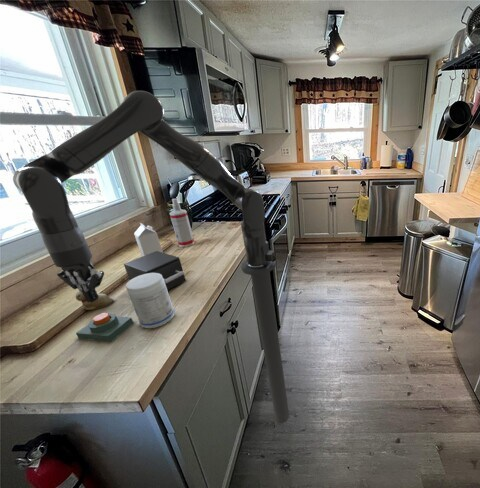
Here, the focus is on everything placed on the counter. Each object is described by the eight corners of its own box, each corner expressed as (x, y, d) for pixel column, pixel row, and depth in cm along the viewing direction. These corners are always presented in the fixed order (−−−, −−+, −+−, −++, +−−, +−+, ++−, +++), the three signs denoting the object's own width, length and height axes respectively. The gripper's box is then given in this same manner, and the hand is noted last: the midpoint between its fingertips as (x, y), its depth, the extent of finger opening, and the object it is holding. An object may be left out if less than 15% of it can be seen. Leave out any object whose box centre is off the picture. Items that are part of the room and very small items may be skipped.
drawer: (192, 282, 101) (187, 262, 98) (164, 298, 92) (157, 276, 89) (165, 273, 109) (159, 254, 106) (136, 286, 100) (129, 266, 96)
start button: (113, 317, 79) (111, 313, 78) (102, 325, 75) (100, 321, 75) (103, 316, 79) (100, 312, 78) (91, 324, 76) (89, 320, 75)
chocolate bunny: (92, 301, 93) (81, 277, 89) (115, 300, 94) (105, 276, 90) (80, 311, 88) (67, 286, 84) (104, 309, 88) (93, 284, 84)
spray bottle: (178, 248, 136) (164, 201, 126) (179, 243, 142) (166, 198, 132) (194, 245, 138) (182, 199, 128) (194, 240, 145) (183, 196, 135)
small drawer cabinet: (185, 280, 104) (179, 257, 100) (154, 297, 94) (145, 271, 90) (164, 273, 111) (156, 250, 107) (132, 287, 101) (123, 263, 97)
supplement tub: (139, 318, 83) (123, 279, 78) (171, 306, 89) (159, 268, 83) (143, 334, 77) (126, 293, 71) (178, 320, 82) (165, 280, 76)
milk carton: (148, 268, 116) (135, 228, 108) (144, 263, 120) (130, 224, 113) (166, 262, 120) (154, 223, 113) (161, 258, 125) (149, 220, 117)
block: (133, 323, 82) (129, 312, 80) (111, 341, 74) (106, 330, 73) (103, 320, 83) (98, 310, 82) (78, 338, 76) (72, 328, 74)
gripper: (102, 240, 70) (124, 294, 77) (61, 239, 72) (86, 291, 79) (74, 252, 63) (100, 310, 70) (29, 250, 65) (59, 307, 72)
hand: (93, 300), depth 74 cm, fingers closed
